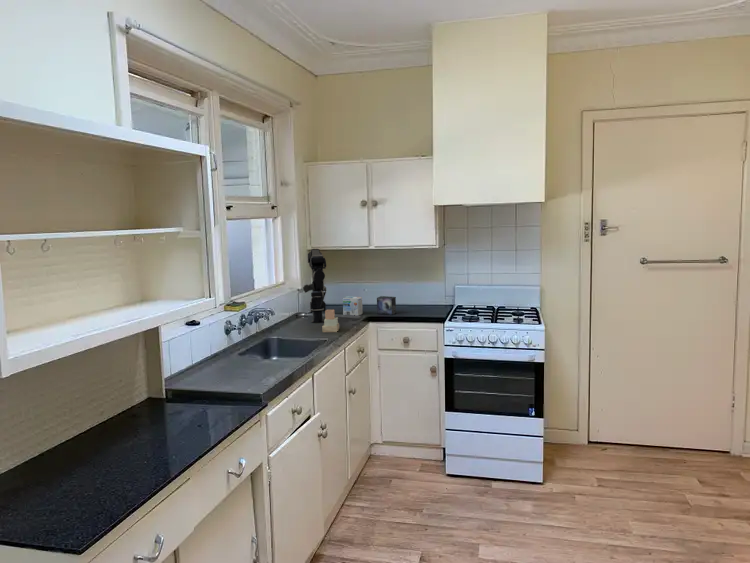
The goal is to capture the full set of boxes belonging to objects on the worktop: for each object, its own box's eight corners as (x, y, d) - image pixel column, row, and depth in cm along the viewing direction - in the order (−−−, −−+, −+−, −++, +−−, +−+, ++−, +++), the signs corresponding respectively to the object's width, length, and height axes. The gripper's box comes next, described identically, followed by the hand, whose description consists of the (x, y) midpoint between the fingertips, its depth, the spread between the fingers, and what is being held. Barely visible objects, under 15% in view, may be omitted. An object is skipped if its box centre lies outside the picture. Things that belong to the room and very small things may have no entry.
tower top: (326, 323, 310) (325, 317, 309) (337, 323, 309) (337, 317, 309) (324, 326, 303) (324, 319, 303) (336, 326, 303) (336, 319, 302)
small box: (376, 314, 349) (376, 297, 348) (381, 312, 355) (380, 295, 353) (391, 315, 344) (391, 298, 343) (396, 313, 350) (396, 296, 348)
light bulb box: (342, 315, 349) (342, 298, 348) (347, 313, 356) (346, 296, 354) (358, 315, 345) (358, 298, 344) (362, 313, 352) (362, 296, 350)
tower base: (324, 329, 311) (324, 323, 310) (339, 329, 310) (339, 323, 310) (322, 332, 303) (322, 326, 302) (337, 332, 302) (337, 326, 302)
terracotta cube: (326, 317, 308) (326, 309, 307) (334, 317, 308) (334, 309, 307) (325, 319, 304) (325, 311, 303) (333, 319, 303) (333, 311, 303)
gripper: (306, 276, 316) (307, 303, 318) (301, 281, 297) (302, 310, 299) (325, 276, 315) (327, 303, 318) (321, 281, 297) (323, 310, 299)
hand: (319, 306), depth 308 cm, fingers open, 9 cm apart
